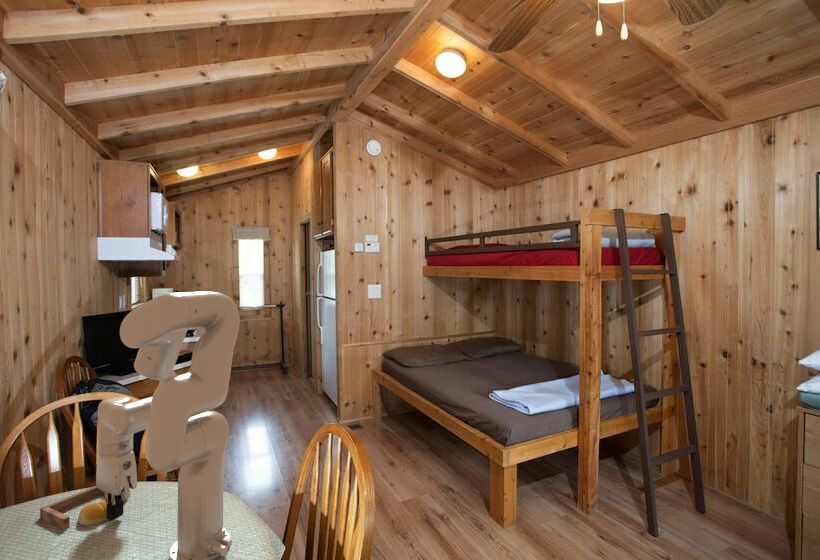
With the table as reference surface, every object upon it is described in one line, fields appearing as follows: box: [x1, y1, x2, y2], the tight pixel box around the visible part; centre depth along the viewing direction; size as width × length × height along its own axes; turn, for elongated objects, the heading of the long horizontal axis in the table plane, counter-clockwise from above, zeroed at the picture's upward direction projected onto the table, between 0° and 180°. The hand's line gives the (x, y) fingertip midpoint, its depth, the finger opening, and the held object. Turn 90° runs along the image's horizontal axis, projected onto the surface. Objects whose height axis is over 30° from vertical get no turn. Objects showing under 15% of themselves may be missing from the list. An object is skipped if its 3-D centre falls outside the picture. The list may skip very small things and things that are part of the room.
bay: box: [39, 485, 129, 530], centre depth 112 cm, size 11×15×2 cm
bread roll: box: [77, 499, 108, 526], centre depth 109 cm, size 8×9×4 cm
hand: (114, 517), depth 107 cm, fingers closed
